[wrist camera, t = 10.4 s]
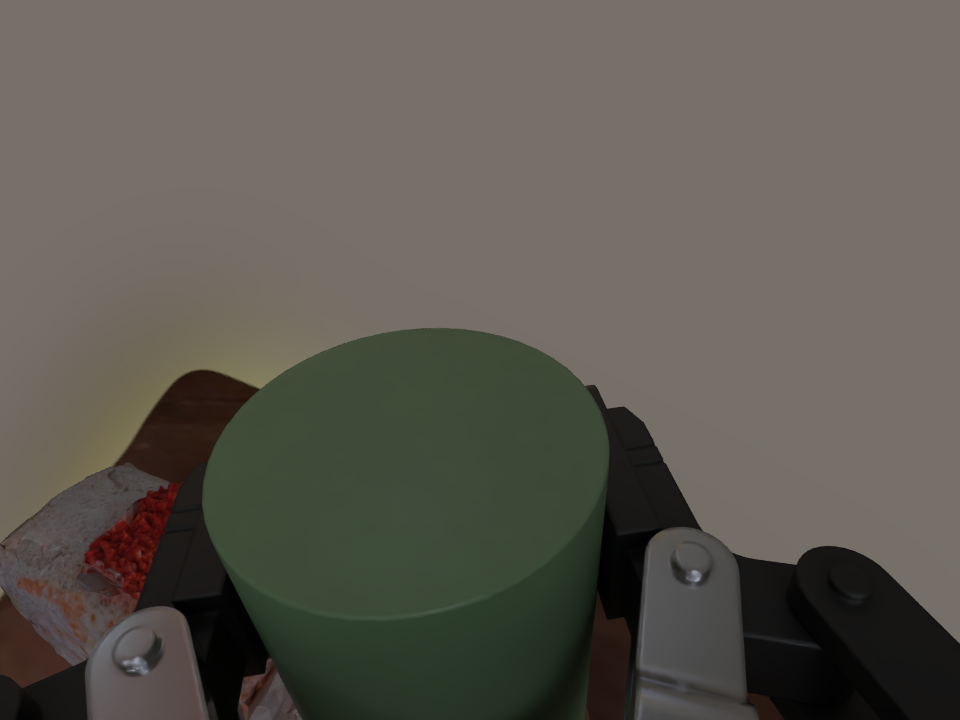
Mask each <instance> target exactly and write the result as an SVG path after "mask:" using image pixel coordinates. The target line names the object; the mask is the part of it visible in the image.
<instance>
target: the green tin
mask: <svg viewBox="0 0 960 720" xmlns="http://www.w3.org/2000/svg"><path fill="white" fill-rule="evenodd" d="M609 451H610V446H609V440H608V433H607V428H606V425H605V422H604V419H603V416H602V414H601V411H600V409H599V407H598V406H597V404H596V402H595V400H594V398H593V397H592V395H591V393H590V392H589V391H588V390H587V388H586V387H585V386H584V385H583V384H582V382H581V381H580V380H579V379H578V378H577V377H576V376H575V375H574V374H573V373H572V372H571V371H570V370H568V369H567V368H566V367H565V366H563V365H562V364H560V363H559V362H557V361H556V360H555V359H553V358H552V357H550V356H548V355H546V354H545V353H543V352H541V351H539V350H537V349H535V348H533V347H531V346H528V345H526V344H524V343H521V342H519V341H515V340H512V339H509V338H506V337H503V336H499V335H494V334H489V333H485V332H479V331H472V330H465V329H449V328H425V329H424V328H422V329H411V330H401V331H394V332H388V333H382V334H378V335H373V336H369V337H365V338H361V339H357V340H354V341H351V342H348V343H344V344H341V345H339V346H336V347H334V348H331V349H328V350H326V351H323V352H321V353H319V354H317V355H315V356H313V357H310V358H308V359H306V360H304V361H302V362H300V363H299V364H297V365H295V366H294V367H292V368H290V369H288V370H286V371H285V372H284V373H282V374H280V375H279V376H278V377H276V378H275V379H273V380H272V381H270V382H269V383H268V384H266V385H265V386H264V387H263V388H262V389H260V390H259V391H258V392H257V393H256V394H254V395H253V396H252V397H251V398H250V399H249V400H248V401H247V402H246V403H245V404H244V405H243V406H242V407H241V408H240V409H239V410H238V412H237V413H236V414H235V415H234V417H233V418H232V419H231V421H230V422H229V423H228V424H227V426H226V427H225V429H224V430H223V432H222V434H221V435H220V437H219V439H218V440H217V442H216V444H215V446H214V449H213V451H212V453H211V456H210V458H209V461H208V464H207V468H206V472H205V477H204V481H203V495H202V506H203V513H204V520H205V525H206V527H207V530H208V533H209V536H210V538H211V541H212V544H213V545H214V547H215V549H216V551H217V553H218V555H219V557H220V559H221V561H222V563H223V565H224V567H225V569H226V571H227V573H228V575H229V577H230V579H231V581H232V583H233V585H234V587H235V589H236V591H237V593H238V595H239V597H240V599H241V601H242V603H243V605H244V607H245V609H246V611H247V612H248V614H249V616H250V618H251V620H252V622H253V624H254V626H255V628H256V630H257V632H258V634H259V636H260V638H261V640H262V642H263V644H264V646H265V648H266V650H267V652H268V654H269V656H270V658H271V660H272V662H273V664H274V666H275V668H276V670H277V672H278V674H279V676H280V677H281V679H282V681H283V683H284V685H285V687H286V689H287V691H288V693H289V695H290V697H291V699H292V701H293V703H294V705H295V707H296V709H297V711H298V713H299V715H300V717H301V719H302V720H585V710H586V700H587V689H588V679H589V669H590V658H591V648H592V638H593V627H594V617H595V606H596V596H597V586H598V575H599V565H600V555H601V544H602V534H603V523H604V513H605V503H606V492H607V482H608V472H609Z"/></svg>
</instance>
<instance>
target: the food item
mask: <svg viewBox="0 0 960 720" xmlns="http://www.w3.org/2000/svg"><path fill="white" fill-rule="evenodd" d="M182 483H183V481H182V482H180V483H173V482H172V483H171V482H168V481H166V480H164V479H161V478H159V477H156V476H153V475H150V474H148V473H145V472H143V471H141V470H138V469H137V468H136V467H135V466H134V465H133V464H132V463H126V464H125V465H122V466H116V467H109V468H106V469H105V470H102V471H100V472H97V473H95V474H93V475H90V476H88V477H86V478H85V479H84V480H83V481H81V482H79V483H77V484H75V485H74V486H72V487H70V488H68V489H67V490H65V491H63V492H61V493H60V494H58V495H57V496H55V497H54V498H52V499H51V500H50V501H49V502H48V503H47V504H46V505H45V506H44V507H43V508H42V509H41V510H40V511H39V512H37V513H36V514H35V515H34V516H33V517H31V518H29V519H27V520H26V521H25V522H24V523H23V524H21V525H20V526H19V527H18V528H17V529H15V530H14V531H13V532H12V533H11V534H10V535H9V536H8V537H7V538H6V539H5V540H3V541H2V542H1V543H0V586H1V588H2V589H3V590H4V592H5V593H6V595H7V596H8V598H9V599H10V601H11V602H12V604H13V605H14V606H15V607H16V609H17V610H18V611H19V612H20V614H22V615H23V616H24V617H25V618H26V619H27V620H28V621H29V622H30V623H32V624H33V627H34V630H35V631H36V632H37V633H38V634H39V635H40V636H41V637H42V638H43V639H45V640H46V641H47V642H49V643H50V644H51V645H52V646H53V647H54V648H55V650H56V652H57V654H59V655H60V656H62V657H64V658H65V659H66V660H67V661H68V662H69V663H70V664H71V665H72V666H75V665H77V664H79V663H81V662H83V661H85V660H87V659H88V658H89V656H90V654H91V652H92V650H93V649H94V647H95V645H96V644H97V643H98V641H99V640H100V639H101V637H102V636H103V635H104V634H105V633H106V632H107V631H108V630H109V629H110V628H111V627H113V626H114V625H115V624H116V623H118V622H119V621H121V620H122V619H123V618H125V617H127V616H129V615H131V614H132V613H133V612H134V610H135V607H136V605H137V602H138V599H139V597H140V594H141V591H142V588H143V586H144V583H145V580H146V577H147V575H148V572H149V569H150V566H151V564H152V561H153V558H154V555H155V553H156V550H157V547H158V544H159V542H160V539H161V536H162V534H164V533H165V531H164V528H165V525H166V522H167V520H168V517H169V514H171V513H172V511H171V509H172V506H173V503H174V500H175V498H176V495H177V492H178V489H179V487H180V485H181V484H182ZM239 704H240V706H241V708H242V711H243V714H244V718H245V720H302V719H301V717H300V715H299V713H298V711H297V709H296V707H295V705H294V703H293V701H292V699H291V697H290V695H289V693H288V691H287V689H286V687H285V685H284V683H283V681H282V679H281V677H280V676H279V674H278V672H277V670H276V668H275V666H274V664H273V662H272V660H271V658H270V656H269V654H268V659H267V665H266V672H265V674H261V675H255V676H249V677H244V678H243V683H242V689H241V694H240V699H239Z"/></svg>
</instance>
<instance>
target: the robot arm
mask: <svg viewBox="0 0 960 720" xmlns="http://www.w3.org/2000/svg"><path fill="white" fill-rule="evenodd" d="M585 387H586V388H587V390H588V391H589V392H590V393H591V395H592V397H593V398H594V400H595V402H596V404H597V406H598V407H599V409H600V411H601V414H602V416H603V419H604V422H605V425H606V428H607V433H608V440H609V446H610V451H609V472H608V482H607V492H606V503H605V513H604V523H603V534H602V544H601V555H600V565H599V575H598V586H597V590H598V593H599V596H600V599H601V602H602V605H603V608H604V611H605V614H606V617H607V620H608V619H615V618H621V617H624V618H625V620H626V623H627V626H628V629H629V632H630V634H631V642H630V649H629V660H628V671H627V682H626V693H625V704H624V715H623V720H759V715H758V712H757V709H756V707H755V705H754V704H751V703H750V702H749V699H748V694H747V692H749V693H754V694H760V695H765V696H769V697H770V699H771V700H772V702H773V703H774V705H775V706H776V708H777V709H778V710H779V712H780V713H781V715H782V716H783V718H784V719H785V720H960V644H959V643H958V642H957V641H956V640H955V639H954V638H953V637H952V636H951V635H950V634H949V633H948V632H947V631H946V630H945V629H944V628H943V627H942V626H941V625H940V624H939V623H938V622H937V621H936V620H935V619H934V618H933V617H932V616H931V615H930V614H929V613H928V612H927V611H926V610H925V609H924V608H923V607H922V606H921V605H920V604H919V603H918V602H917V601H916V600H915V599H914V598H913V597H912V596H911V595H910V594H909V593H908V592H907V591H906V590H905V589H904V588H903V587H902V586H900V584H899V583H897V581H896V580H894V579H893V578H892V577H891V576H890V575H889V574H888V573H887V572H886V571H885V570H884V569H883V568H882V567H881V566H880V565H878V564H877V563H875V562H874V561H873V560H871V559H869V558H867V557H866V556H864V555H862V554H860V553H857V552H855V551H852V550H849V549H846V548H841V547H836V546H821V547H817V548H813V549H811V550H809V551H807V552H806V553H804V554H803V555H802V556H801V558H800V559H799V561H798V563H797V565H793V564H786V563H778V562H771V561H764V560H757V559H751V558H746V557H743V556H740V555H736V554H734V553H732V552H731V551H730V550H729V549H728V548H727V546H725V545H724V544H723V543H722V542H721V541H720V540H718V539H717V538H715V537H714V536H712V535H710V534H708V533H706V532H704V531H703V530H702V529H701V528H700V526H699V525H698V523H697V521H696V519H695V517H694V516H693V514H692V512H691V510H690V508H689V506H688V504H687V503H686V501H685V499H684V497H683V495H682V493H681V491H680V490H679V487H678V486H677V484H676V482H675V480H674V478H673V476H672V475H671V473H670V471H669V469H668V467H667V465H666V464H665V463H664V462H663V458H662V456H661V454H660V452H659V451H658V448H657V447H656V446H655V445H654V441H653V439H652V437H651V435H650V433H649V431H648V430H647V428H646V426H645V424H644V422H642V421H641V420H640V419H639V418H638V417H636V416H635V415H634V414H633V413H631V412H630V411H629V410H628V409H627V408H625V407H617V408H610V409H607V408H606V406H605V404H604V402H603V400H602V398H601V395H600V393H599V391H598V389H597V387H596V386H595V385H588V386H585ZM207 464H208V462H207V463H199V464H198V465H197V466H196V467H195V468H194V470H193V471H192V472H191V473H190V474H189V476H188V477H187V478H186V479H185V480H184V481H183V483H182V484H181V485H180V487H179V489H178V492H177V495H176V498H175V500H174V503H173V506H172V509H171V511H172V513H171V514H169V517H168V520H167V522H166V525H165V528H164V531H165V533H164V534H162V536H161V539H160V542H159V544H158V547H157V550H156V553H155V555H154V558H153V561H152V564H151V566H150V569H149V572H148V575H147V577H146V580H145V583H144V586H143V588H142V591H141V594H140V597H139V599H138V602H137V605H136V607H135V610H134V612H133V613H132V614H131V615H129V616H127V617H125V618H123V619H122V620H121V621H119V622H118V623H116V624H115V625H114V626H113V627H111V628H110V629H109V630H108V631H107V632H106V633H105V634H104V635H103V636H102V637H101V639H100V640H99V641H98V643H97V644H96V645H95V647H94V649H93V650H92V652H91V654H90V656H89V658H88V659H87V660H85V661H83V662H81V663H79V664H77V665H75V666H72V667H70V668H68V669H66V670H63V671H61V672H59V673H56V674H54V675H52V676H50V677H47V678H45V679H43V680H41V681H38V682H36V683H34V684H31V685H29V686H27V687H25V688H21V687H20V686H19V685H18V684H17V683H16V682H15V681H14V680H12V679H11V678H9V677H6V676H3V675H0V720H245V718H244V714H243V711H242V708H241V706H240V704H239V699H240V694H241V689H242V683H243V678H244V677H249V676H255V675H261V674H265V672H266V665H267V659H268V652H267V650H266V648H265V646H264V644H263V642H262V640H261V638H260V636H259V634H258V632H257V630H256V628H255V626H254V624H253V622H252V620H251V618H250V616H249V614H248V612H247V611H246V609H245V607H244V605H243V603H242V601H241V599H240V597H239V595H238V593H237V591H236V589H235V587H234V585H233V583H232V581H231V579H230V577H229V575H228V573H227V571H226V569H225V567H224V565H223V563H222V561H221V559H220V557H219V555H218V553H217V551H216V549H215V547H214V545H213V544H212V541H211V538H210V536H209V533H208V530H207V527H206V525H205V520H204V513H203V506H202V495H203V481H204V477H205V472H206V468H207Z"/></svg>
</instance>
